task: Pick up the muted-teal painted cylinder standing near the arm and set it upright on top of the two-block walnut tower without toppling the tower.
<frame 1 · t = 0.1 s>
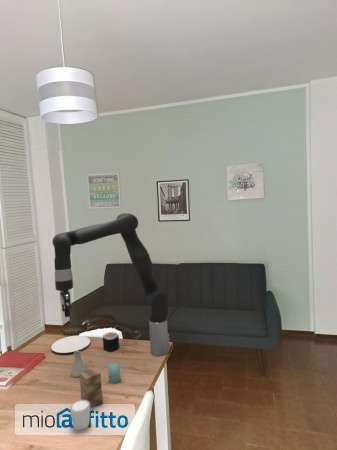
hand: (66, 313, 140), 29 cm above the table, fingers open, 8 cm apart
plate: (71, 347, 172), on the table
cylinder: (114, 380, 137), on the table
grey cup: (81, 424, 110), on the table
tower top: (91, 387, 122), point 6 cm above the table, touching tower base
sushi: (111, 348, 168), on the table
flask: (78, 373, 144), on the table
tower base: (91, 401, 123), on the table, touching tower top
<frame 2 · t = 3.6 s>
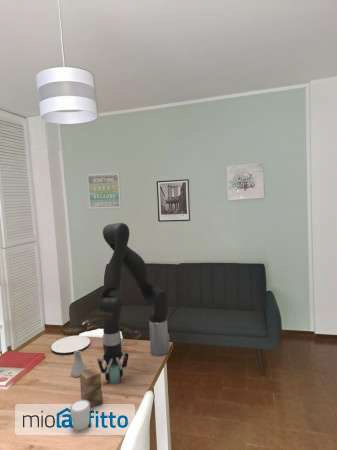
hand: (114, 378, 137), 1 cm above the table, fingers closed on cylinder, 5 cm apart
cylinder: (114, 380, 137), on the table, touching gripper
everything else where it was.
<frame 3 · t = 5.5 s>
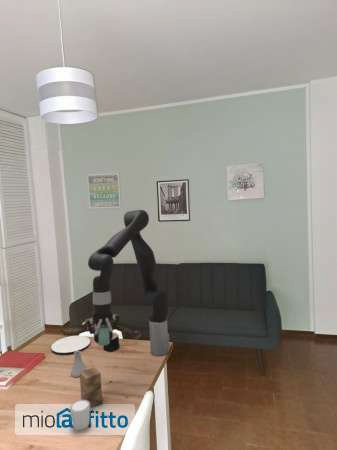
hand: (103, 340, 131), 20 cm above the table, fingers closed on cylinder, 5 cm apart
cylinder: (103, 343, 131), point 19 cm above the table, touching gripper
everything else where it was.
when the fingers open (14 cm above the table, at t = 7.4 s): cylinder drops 2 cm, resting on tower top.
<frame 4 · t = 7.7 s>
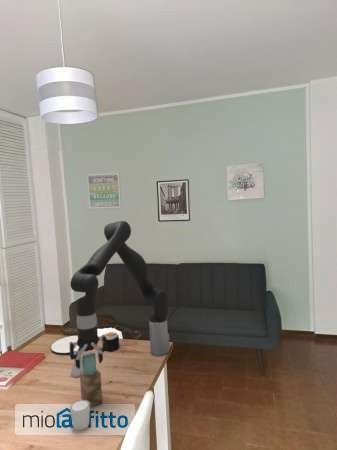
hand: (89, 365, 122), 15 cm above the table, fingers open, 8 cm apart
cylinder: (89, 372, 122), point 12 cm above the table, touching tower top
tower top: (91, 387, 122), point 6 cm above the table, touching cylinder, tower base
everything else where it was.
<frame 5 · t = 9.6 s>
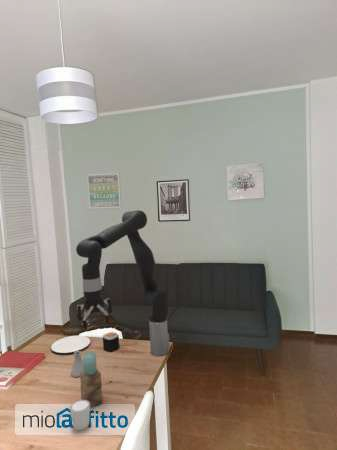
hand: (95, 326, 130), 27 cm above the table, fingers open, 8 cm apart
tower top: (91, 387, 122), point 6 cm above the table, touching cylinder
tower base: (91, 401, 123), on the table
everything else where it was.
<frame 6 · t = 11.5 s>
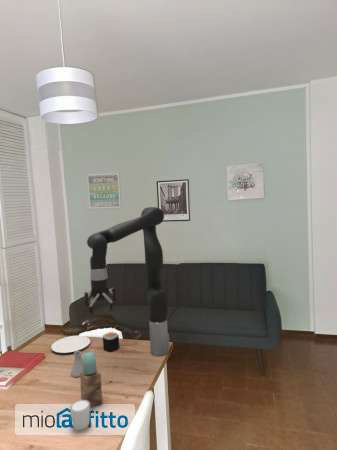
hand: (101, 312, 143), 28 cm above the table, fingers open, 8 cm apart
cylinder: (89, 371, 122), point 12 cm above the table, tilted 8°, touching tower top
everything else where it was.
at the end: cylinder 0.2 cm off-centre on the tower base, point 12.3 cm above the tower base's base; cylinder tilted 7°; tower top tilted 0° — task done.
